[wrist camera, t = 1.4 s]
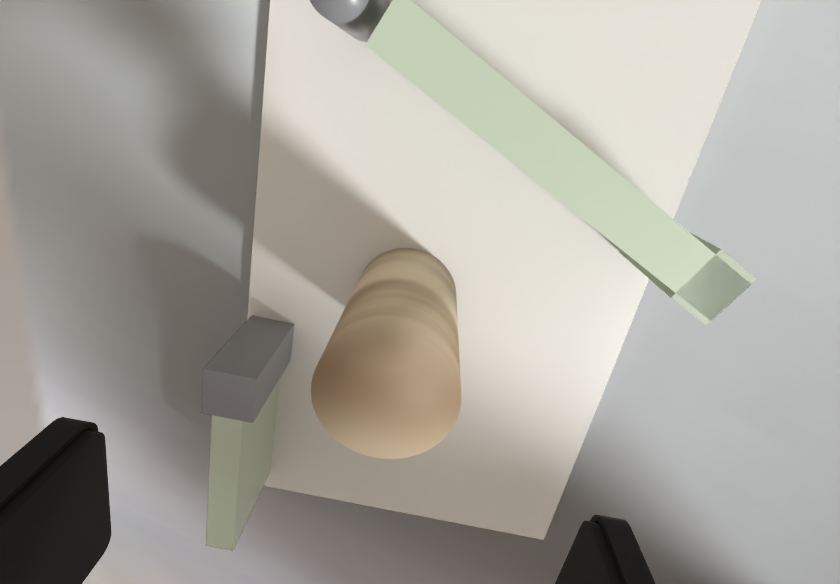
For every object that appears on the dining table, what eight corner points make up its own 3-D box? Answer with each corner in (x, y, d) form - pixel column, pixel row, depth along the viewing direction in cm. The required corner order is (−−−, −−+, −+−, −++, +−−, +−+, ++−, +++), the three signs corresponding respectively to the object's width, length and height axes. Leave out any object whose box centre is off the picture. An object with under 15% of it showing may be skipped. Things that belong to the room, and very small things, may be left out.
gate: (383, 64, 18) (360, 52, 13) (414, 14, 17) (403, -18, 13) (646, 274, 20) (706, 325, 16) (683, 237, 20) (756, 279, 15)
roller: (444, 348, 22) (443, 470, 15) (350, 329, 22) (302, 443, 15) (466, 259, 21) (477, 347, 13) (365, 238, 21) (320, 315, 13)
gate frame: (541, 531, 27) (563, 629, 22) (240, 472, 26) (191, 559, 21) (763, -28, 17) (897, -82, 12) (286, -136, 17) (216, -240, 12)
